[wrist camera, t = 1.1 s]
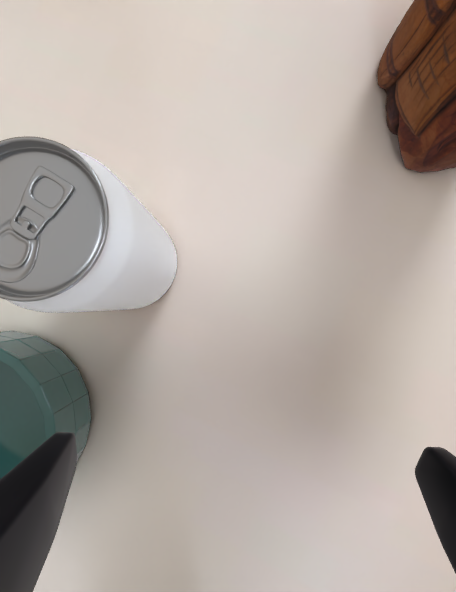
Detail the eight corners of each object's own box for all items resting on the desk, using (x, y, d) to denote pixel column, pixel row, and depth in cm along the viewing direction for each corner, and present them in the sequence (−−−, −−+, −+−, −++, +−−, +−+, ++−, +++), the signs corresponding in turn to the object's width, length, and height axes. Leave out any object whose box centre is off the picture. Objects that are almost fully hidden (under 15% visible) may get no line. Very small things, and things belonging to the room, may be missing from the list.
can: (68, 277, 23) (-107, 248, 11) (118, 198, 23) (-3, 87, 11) (146, 327, 23) (53, 351, 11) (196, 247, 23) (157, 187, 11)
